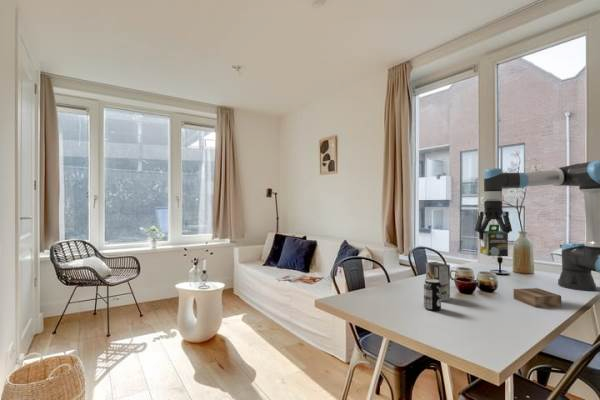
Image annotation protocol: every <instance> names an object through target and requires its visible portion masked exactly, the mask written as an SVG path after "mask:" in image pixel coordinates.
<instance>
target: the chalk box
mask: <svg viewBox="0 0 600 400" xmlns="http://www.w3.org/2000/svg"><path fill="white" fill-rule="evenodd" d="M488 225H489V226H488V230H485V231H484V233H485V237H486V247H483V246H481V239H479V251H480V254H482V255H484V256H488V257H490V256H491V257H509V233H508V232H503V231H502V230H500V225H499V224H488ZM492 228H495V229H492Z"/></svg>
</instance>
